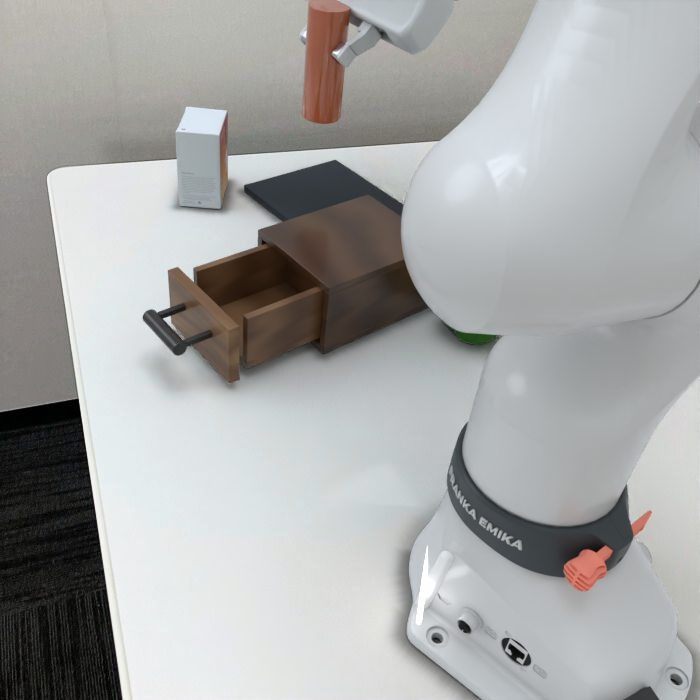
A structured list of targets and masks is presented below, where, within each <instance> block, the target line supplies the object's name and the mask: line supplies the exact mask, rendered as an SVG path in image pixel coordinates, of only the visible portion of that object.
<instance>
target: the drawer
mask: <svg viewBox="0 0 700 700" xmlns="http://www.w3.org/2000/svg"><path fill="white" fill-rule="evenodd" d="M192 271H193V280H192V279H191V278H190V277H189V276H188V275H187V274H186V272H184V271H183V270H182V269H181V268H180V267H178V266H176V267H173V268H170V269H167V281H168V296H169V307H167V308H165V309H162V310H159V311H156V310H155V309H153V308H152V309H148V310H146V311H145V312H143V314H142V321H143V322H144V323H145V325H146V326H148V328H149V329H150V330H151V331H152V332H153V333H154V334H155V335H156V337H158V339H159V340H160V341H161V342H162V343H163V344H164V345H165V346H166V348H167V349H169V350H170V352H171V353H172V354H173V355H174V356H182V355H183V354H184V353H185V352H186V351H187V349H188V348H189V347H193V348H194V349H195V350H196V351H197V352H198V353H199V354H200V355H201V356H202V357H203V358H204V359H205V360H206V362H207V363H208V364H209V365H210V366H211V367H212V368H213V369H214V370H215V371H216V372H217V373H218V374H219V375H220V376H221V377H222V378H223V379H224V380H225V381H226V382H227V384H228V385H231V384H233V383H235V382H238V381H239V380H240V364H241V365H242V366H244V368H245V369H250V368H252V367H254V366H257V365H260V364H262V363H264V362H266V361H269V360H272V359H273V358H276V357H278V356H280V355H283V354H285V353H287V352H289V351H292V350H294V349H297V348H299V347H301V346H304V345H305V344H308V343H310V342H311V341H313V340H315V339H318V338H320V334H321V323H322V312H323V301H324V290H323V289H322V288H321V287H320V286H318V285H317V284H316V283H315V282H314V281H312V280H311V279H310V278H309V277H307V276H306V275H305V274H304V273H303V272H301V271H300V270H299V269H298V268H297V267H295V266H294V265H293V264H292V263H290V262H289V261H288V260H287V259H286V258H284V257H283V256H282V255H281V254H280V253H278V252H277V251H276V250H275V249H273V248H272V247H271V246H270V245H269V244H267V243H266V244H263V245H260V246H258V245H257V246H255V247H252V248H248V249H245V250H242V251H239V252H236V253H234V254H231V255H227V256H225V257H222V258H218V259H215V260H212V261H210V262H207V263H204V264H200V265H197V266H194V267H193V268H192ZM169 317H170V323H171V325H173V327H174V328H175V329H176V330H177V331H178V332H179V333H180V334H181V335H182V336H183V337H184V339H183V338H182V337H181V336H180V335H179V334H178V333H177V332H176V330H174V329H173V328H172V326H171V325H170V324H168V322H167V321H166V320H165V319H166V318H169Z"/></svg>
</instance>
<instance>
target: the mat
mask: <svg viewBox="0 0 700 700" xmlns="http://www.w3.org/2000/svg"><path fill="white" fill-rule="evenodd" d="M243 192H244V193H245V194H246V195H248V196H249V197H250V198H252V199H253V200H254V201H255V202H257V203H258V204H259V205H261V206H262V207H263V208H264V209H266V210H267V211H268V212H270V213H271V214H272V215H273V216H274V217H276V218H277V219H279V220H280V221H281V222H284V221H287V220H290V219H293V218H296V217H299V216H303V215H306V214H309V213H312V212H315V211H318V210H321V209H324V208H328V207H331V206H334V205H337V204H340V203H343V202H346V201H350V200H353V199H356V198H359V197H362V196H365V195H370V196H371V197H373V198H374V199H376V200H377V201H378V202H380V203H381V204H383V205H384V206H386V207H387V208H389V209H390V210H392V211H393V212H395V213H396V214H398V215H399V216H401V217H402V211H403V205H404V203H402V202H401V201H399V200H398V199H396V198H394V197H393V196H391V195H390V194H388V193H387V192H385V191H384V190H382V189H381V188H379V187H378V186H376V185H375V184H374V183H372V182H370V181H369V180H367V179H366V178H365V177H363V176H361V175H360V174H358V173H357V172H355V171H354V170H352V169H351V168H349V167H348V166H346V165H344V164H343V163H342V162H340V161H338V160H337V159H332V160H329V161H326V162H322V163H318V164H315V165H311V166H308V167H304V168H301V169H297V170H293V171H289V172H286V173H282V174H279V175H276V176H272V177H267V178H264V179H261V180H257V181H254V182H251V183H247V184H244V186H243Z"/></svg>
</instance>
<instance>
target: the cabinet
mask: <svg viewBox="0 0 700 700" xmlns="http://www.w3.org/2000/svg"><path fill="white" fill-rule="evenodd" d="M401 218H402V217H401V216H399V215H398V214H396V213H395V212H393V211H392V210H390V209H389V208H387V207H386V206H384V205H383V204H381V203H380V202H378V201H377V200H376V199H374V198H373V197H371V196H370V195H365V196H362V197H359V198H356V199H353V200H350V201H346V202H343V203H340V204H337V205H334V206H331V207H328V208H324V209H321V210H318V211H315V212H312V213H309V214H306V215H303V216H299V217H296V218H293V219H290V220H287V221H284V222H283V221H281V222H278V223H274V224H271V225H268V226H265V227H262V228H259V229H257V246H260V245H263V244H266V243H267V244H269V245H270V246H271V247H272V248H273V249H275V250H276V251H277V252H278V253H280V254H281V255H282V256H283V257H284V258H286V259H287V260H288V261H289V262H290V263H292V264H293V265H294V266H295V267H297V268H298V269H299V270H300V271H301V272H303V273H304V274H305V275H306V276H307V277H309V278H310V279H311V280H312V281H314V282H315V283H316V284H317V285H318V286H320V287H321V288H322V289H323V290H324V301H323V312H322V323H321V334H320V338H318V339H315V340H313V341H311V342H309V343H310V344H311V345H312V346H314V348H316V349H317V350H318V351H319V352H320V353H321V354H323V355H325V354H327V353H329V352H331V351H334V350H336V349H338V348H341V347H343V346H345V345H347V344H350V343H352V342H355V341H357V340H358V339H359V340H360V339H361V338H364V337H365V336H367V335H371V334H372V333H375V332H378V331H379V330H381V329H384V328H385V327H388V326H390V325H392V324H395V323H397V322H399V321H402V320H403V319H405V318H408V317H411V316H413V315H415V314H417V313H419V312H421V311H424V310H426V309H428V308H429V306H428V305H427V304H426V303H425V301H424V300H423V299H422V297H421V296H420V294H419V292H418V291H417V289H416V288H415V286H414V284H413V282H412V279H411V277H410V274H409V272H408V269H407V266H406V263H405V260H404V255H403V250H402V243H401Z"/></svg>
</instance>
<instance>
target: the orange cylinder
mask: <svg viewBox="0 0 700 700" xmlns="http://www.w3.org/2000/svg"><path fill="white" fill-rule="evenodd" d="M349 19H350V6H348V5H346V4H344V3H341V2H339V1H337V0H311V1H309V2H307V15H306V22H307V23H306V24H307V30H306V45H305V52H304V66H303V67H304V68H303V70H304V71H303V82H302V83H303V84H302V85H303V87H302V101H301V102H302V103H301V116H302V118H303V119H305V121H308V122H311V123H315V124H318V125H319V124H320V125H330V124H334V123H338V122H339V120H341V116H342V115H341V114H342V104H343V93H344V83H345V73H346V72H345V71H346V68H345V67H343V66H342V65H340V64H338V63H336V61H335V60H334V59H333V58H332V57H331V53H332V51H333V50H334V49H335V48H336V46H337V45H338V43H339V42H340V41H341V42H343V43H345V44H346V42H347V41H348V40H349V28H350V23H349Z"/></svg>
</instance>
